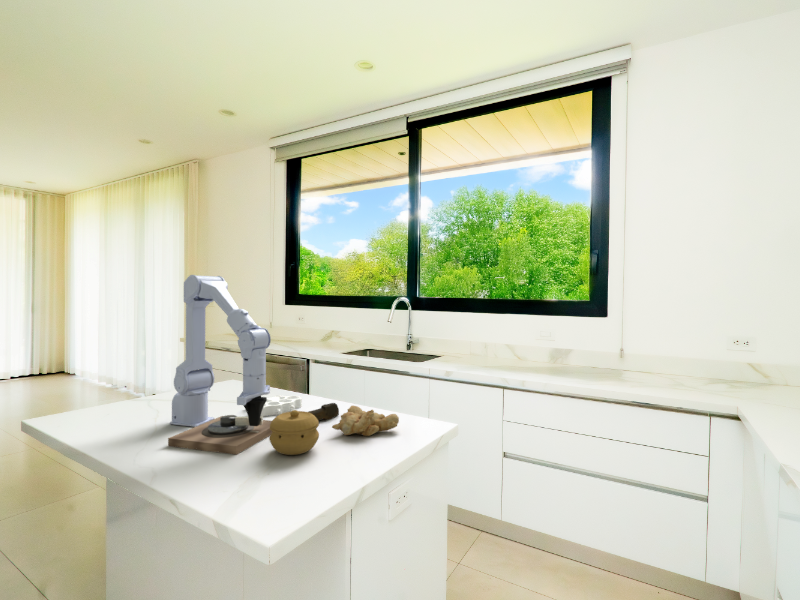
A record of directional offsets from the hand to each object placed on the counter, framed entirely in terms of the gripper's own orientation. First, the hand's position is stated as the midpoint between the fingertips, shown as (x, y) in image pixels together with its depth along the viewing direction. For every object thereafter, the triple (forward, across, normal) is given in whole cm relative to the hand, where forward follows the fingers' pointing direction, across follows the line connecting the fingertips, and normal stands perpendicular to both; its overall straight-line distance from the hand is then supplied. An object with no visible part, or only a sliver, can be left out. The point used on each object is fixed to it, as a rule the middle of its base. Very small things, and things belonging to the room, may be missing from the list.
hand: (254, 425), depth 111 cm
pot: (+4, -7, -14) cm, 16 cm away
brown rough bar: (+4, +16, -10) cm, 20 cm away
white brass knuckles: (+4, +27, +7) cm, 28 cm away
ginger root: (+4, +10, -27) cm, 29 cm away
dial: (+1, 0, +6) cm, 6 cm away
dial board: (+3, 0, +8) cm, 8 cm away
